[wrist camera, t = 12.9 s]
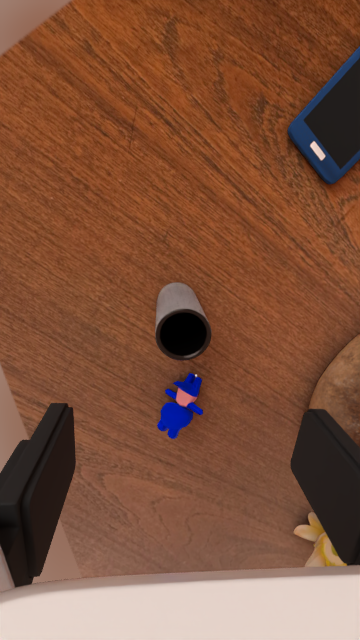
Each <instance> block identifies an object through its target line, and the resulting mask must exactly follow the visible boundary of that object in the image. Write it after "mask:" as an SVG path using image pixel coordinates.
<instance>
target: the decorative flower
mask: <svg viewBox="0 0 360 640" xmlns="http://www.w3.org/2000/svg"><path fill="white" fill-rule="evenodd" d="M308 520H309V522H310V525H311V526H309V525H299V526H297V527H296V528H295V530H294V534H295V535H298V536H300V537H302V538H304V539H307V540H310V541H313V542H315V544H314V545H313V546H314V548H315V550H314V552H313V553H312V555H311V556H310V558H309V559H308V561H307V563H306V564H305V566H304V567H324V566H347V564H346V563H343V562H342V561H341V559H340V558H339V556H338V554H337V553H336V551H335V549H334V547H333V545H332V543H331V542H330V540H329V538H328V536H327V534H326V532H325V531H324V529H323V527H322V525H321V523H320V521H319V520H318V518H317V516H316V514H315V513H313V512H310V513H309V514H308Z"/></svg>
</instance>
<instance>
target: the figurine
mask: <svg viewBox="0 0 360 640" xmlns="http://www.w3.org/2000/svg"><path fill="white" fill-rule="evenodd" d="M195 377H196V378H195ZM194 378H195V380H194ZM193 381H194V382H193ZM201 382H202V379H201V378H200V377H197V374H196V375H194V374H192V373H189V375H188V376H187V378H186V379H185V381H184V382H180V381H176V382H174V383H173V384H175V385H176V386H178V391H177V393H176V392H174V391H172V390H170V389H167V390H165V392H166V394H167V395H169V396H170V397H172V398H173V399H175V400H176V401H177V402H178V404H177V403H173V402H169V403H166V404H165V405H164V406H163V407H162V410H161V420H160V421H159V422H158V425H157V426H158V429H159V430H161V431H166V430H167V429H169V431H168V436H169V437H170V438H172V439H175V438H177V436H178V433H179V431H180V430H181V429H182V428H183V427H186V426H187V425H188V424H189V423H190V422H191V420H192V418H193V412H192V411H194V412H195V413H197V414H199V415H202V414H203V410H202V409H200V408H199V407H198V406H196V405H195V404H194V401H195V400H196V399H197V397H198V395H199V389H200V385H201ZM186 407H187V408H189V409H190V410H192V411H190V410H189V409H187V408H186Z"/></svg>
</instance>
